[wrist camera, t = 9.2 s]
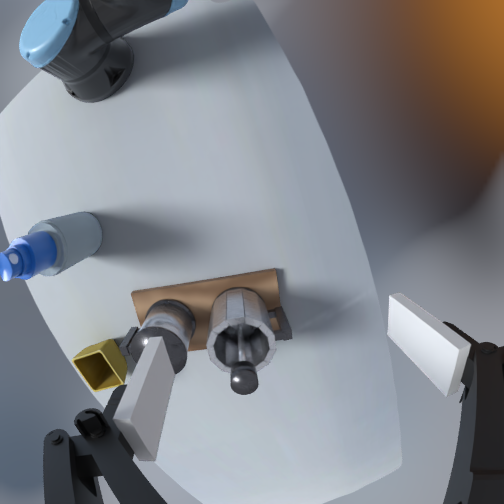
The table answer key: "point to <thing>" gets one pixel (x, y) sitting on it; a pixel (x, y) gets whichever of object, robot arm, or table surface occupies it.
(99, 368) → the flower pot
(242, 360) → the plunger
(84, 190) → the table surface
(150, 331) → the short press
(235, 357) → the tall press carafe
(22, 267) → the spray bottle
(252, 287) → the serving board
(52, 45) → the robot arm
